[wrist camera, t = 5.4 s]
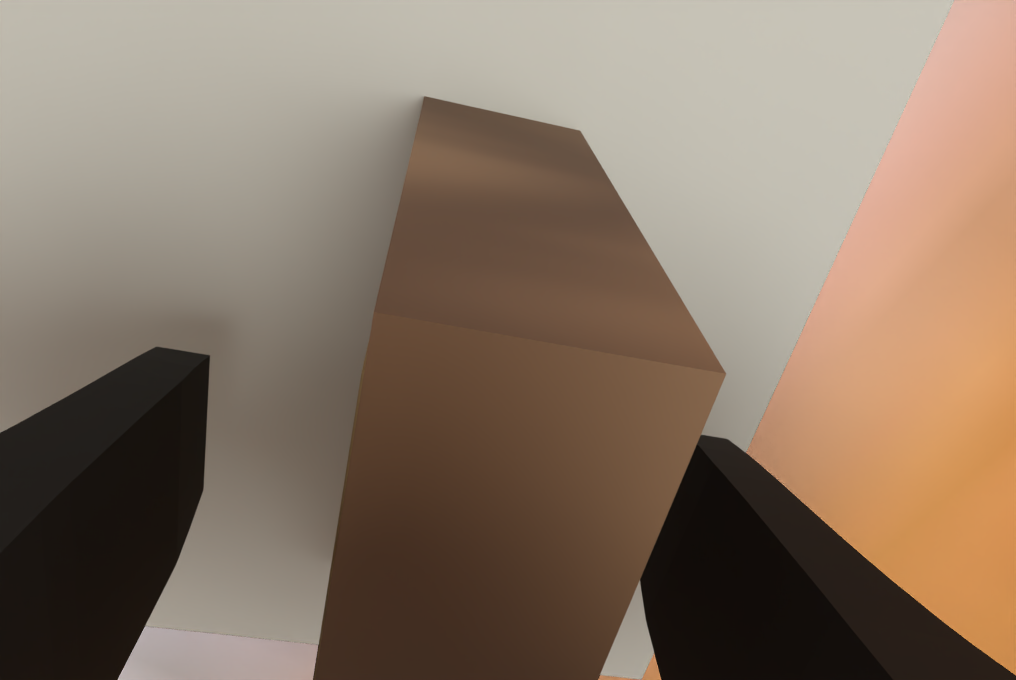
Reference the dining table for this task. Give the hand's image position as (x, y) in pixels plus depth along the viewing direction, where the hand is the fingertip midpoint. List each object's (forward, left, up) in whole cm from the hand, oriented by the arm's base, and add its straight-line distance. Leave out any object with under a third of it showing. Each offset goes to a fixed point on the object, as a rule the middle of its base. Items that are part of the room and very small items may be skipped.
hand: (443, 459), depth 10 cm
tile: (0, 0, -2) cm, 2 cm away
